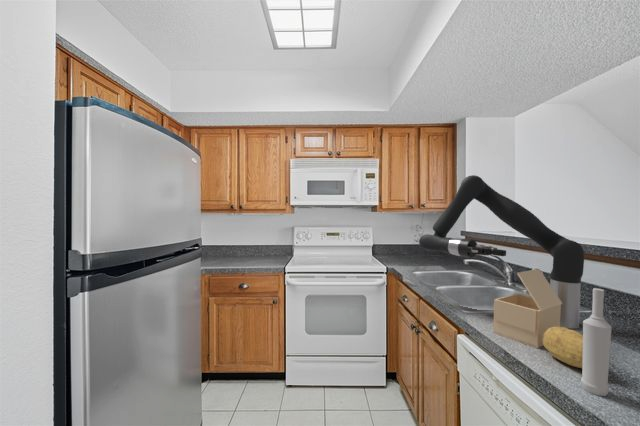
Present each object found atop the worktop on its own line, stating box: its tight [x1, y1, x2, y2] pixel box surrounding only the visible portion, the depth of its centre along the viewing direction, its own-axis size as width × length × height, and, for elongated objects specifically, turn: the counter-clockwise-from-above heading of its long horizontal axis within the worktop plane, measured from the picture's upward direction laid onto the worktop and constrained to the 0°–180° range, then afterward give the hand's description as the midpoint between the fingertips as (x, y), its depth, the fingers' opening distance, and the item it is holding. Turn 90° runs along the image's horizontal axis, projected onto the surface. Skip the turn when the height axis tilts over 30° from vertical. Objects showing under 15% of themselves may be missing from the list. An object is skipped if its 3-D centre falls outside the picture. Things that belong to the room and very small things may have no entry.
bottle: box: [580, 287, 612, 397], centre depth 75 cm, size 5×5×25 cm
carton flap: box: [516, 268, 563, 311], centre depth 104 cm, size 15×13×1 cm
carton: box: [492, 293, 561, 349], centre depth 107 cm, size 17×14×12 cm
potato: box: [542, 327, 583, 369], centre depth 88 cm, size 10×14×10 cm
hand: (505, 253), depth 113 cm, fingers closed
